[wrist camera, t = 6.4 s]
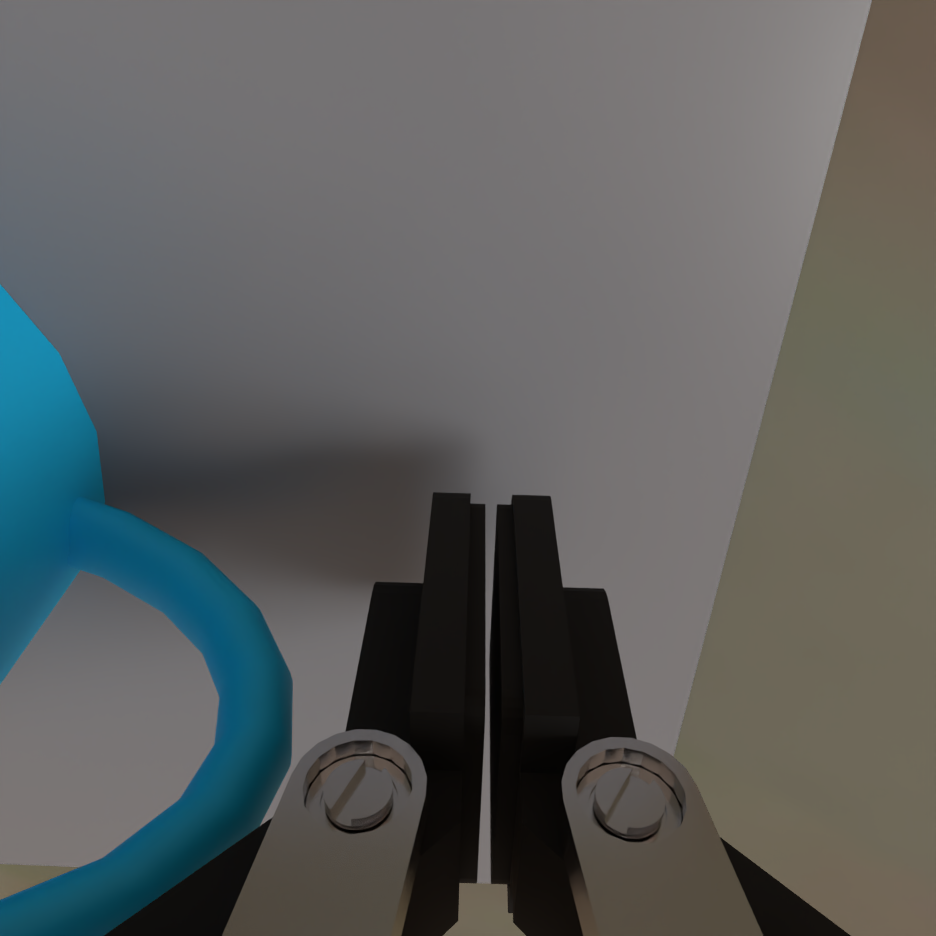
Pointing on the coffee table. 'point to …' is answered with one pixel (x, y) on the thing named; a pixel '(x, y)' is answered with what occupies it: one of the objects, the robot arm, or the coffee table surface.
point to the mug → (158, 584)
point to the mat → (392, 328)
